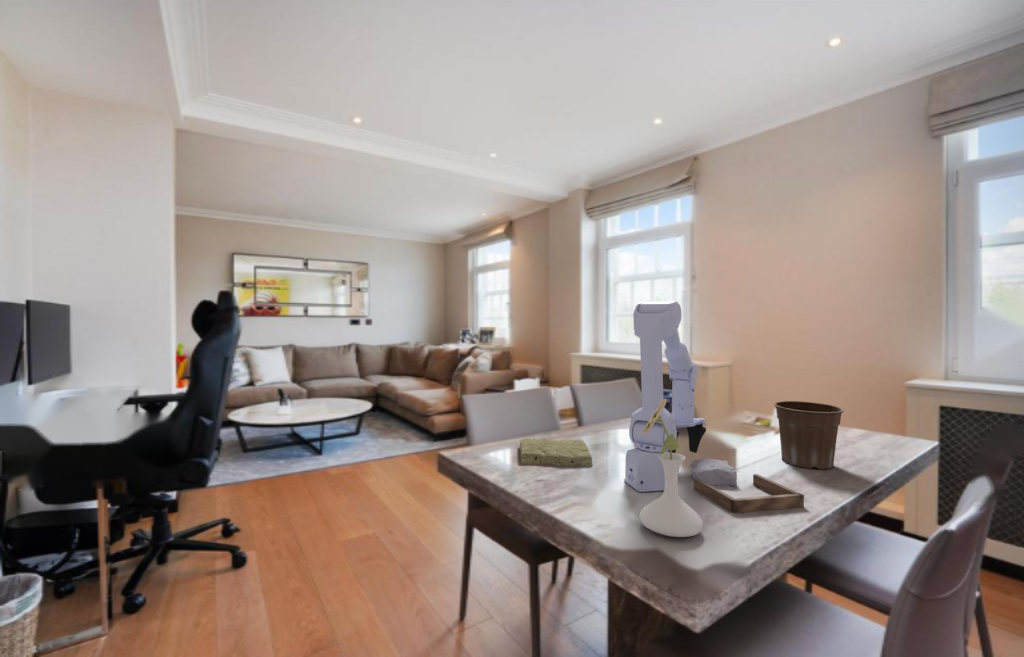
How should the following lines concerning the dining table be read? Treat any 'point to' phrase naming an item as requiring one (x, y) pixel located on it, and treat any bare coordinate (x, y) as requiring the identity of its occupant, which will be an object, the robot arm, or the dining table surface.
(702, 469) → the stone block
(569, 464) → the decorative tile
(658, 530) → the flower in vase
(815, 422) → the plant pot
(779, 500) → the walnut corral
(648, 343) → the robot arm
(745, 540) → the dining table surface
